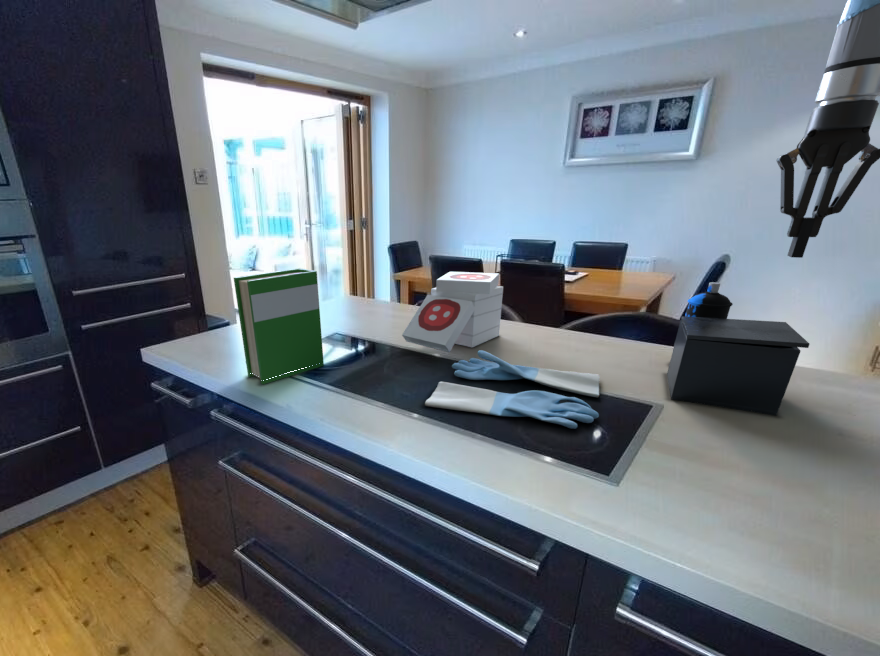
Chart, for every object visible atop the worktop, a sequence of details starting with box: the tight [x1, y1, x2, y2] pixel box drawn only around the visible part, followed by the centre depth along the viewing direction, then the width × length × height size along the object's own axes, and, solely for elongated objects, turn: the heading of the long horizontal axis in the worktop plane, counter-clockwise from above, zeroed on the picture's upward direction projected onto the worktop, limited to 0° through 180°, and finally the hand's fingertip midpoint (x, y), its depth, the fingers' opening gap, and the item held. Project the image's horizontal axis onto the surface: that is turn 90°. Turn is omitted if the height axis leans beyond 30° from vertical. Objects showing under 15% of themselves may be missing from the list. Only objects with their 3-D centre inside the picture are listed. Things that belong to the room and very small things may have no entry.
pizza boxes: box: [401, 271, 504, 353], centre depth 126 cm, size 19×30×18 cm, turn 135°
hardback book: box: [233, 267, 325, 385], centre depth 106 cm, size 18×7×24 cm, turn 131°
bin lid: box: [680, 315, 810, 349], centre depth 86 cm, size 17×16×1 cm
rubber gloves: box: [424, 349, 601, 430], centre depth 93 cm, size 27×33×6 cm
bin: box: [666, 320, 802, 416], centre depth 89 cm, size 17×16×13 cm
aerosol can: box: [684, 281, 734, 319], centre depth 101 cm, size 8×8×20 cm
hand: (794, 256), depth 79 cm, fingers closed
